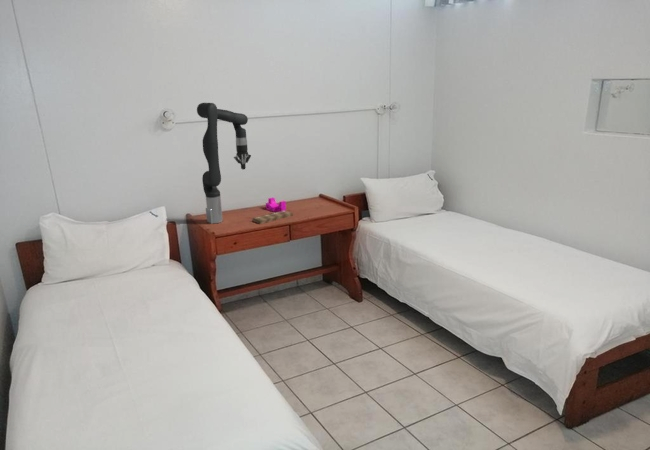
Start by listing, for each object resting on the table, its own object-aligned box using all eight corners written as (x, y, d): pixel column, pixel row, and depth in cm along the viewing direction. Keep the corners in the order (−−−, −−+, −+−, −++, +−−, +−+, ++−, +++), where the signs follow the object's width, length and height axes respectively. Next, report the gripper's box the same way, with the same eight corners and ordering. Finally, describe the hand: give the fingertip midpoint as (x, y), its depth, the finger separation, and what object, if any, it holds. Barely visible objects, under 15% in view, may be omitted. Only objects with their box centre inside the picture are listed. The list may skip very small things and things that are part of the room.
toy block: (266, 209, 332) (265, 199, 330) (273, 207, 336) (272, 197, 334) (278, 213, 321) (278, 203, 319) (286, 211, 325) (285, 201, 323)
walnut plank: (260, 224, 299) (260, 220, 298) (252, 221, 305) (252, 217, 304) (292, 215, 315) (292, 212, 314) (284, 213, 321) (284, 210, 321)
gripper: (236, 145, 311) (238, 171, 316) (252, 143, 319) (254, 168, 324) (230, 144, 316) (232, 169, 321) (246, 142, 324) (248, 167, 330)
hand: (243, 169), depth 323 cm, fingers closed
